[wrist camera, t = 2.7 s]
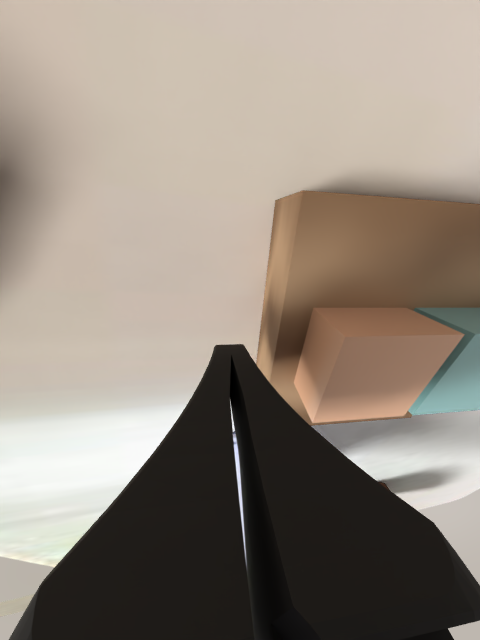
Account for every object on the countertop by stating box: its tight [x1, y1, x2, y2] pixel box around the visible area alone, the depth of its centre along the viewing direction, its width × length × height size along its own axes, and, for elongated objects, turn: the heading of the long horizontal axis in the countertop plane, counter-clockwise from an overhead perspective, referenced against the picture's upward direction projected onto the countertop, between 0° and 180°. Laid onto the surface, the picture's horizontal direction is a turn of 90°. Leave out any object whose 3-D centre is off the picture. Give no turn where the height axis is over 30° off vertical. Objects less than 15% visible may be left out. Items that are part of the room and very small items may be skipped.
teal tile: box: [408, 308, 480, 415], centre depth 10 cm, size 5×5×2 cm
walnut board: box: [256, 191, 480, 426], centre depth 12 cm, size 14×12×4 cm
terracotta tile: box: [294, 308, 465, 423], centre depth 9 cm, size 5×5×2 cm
